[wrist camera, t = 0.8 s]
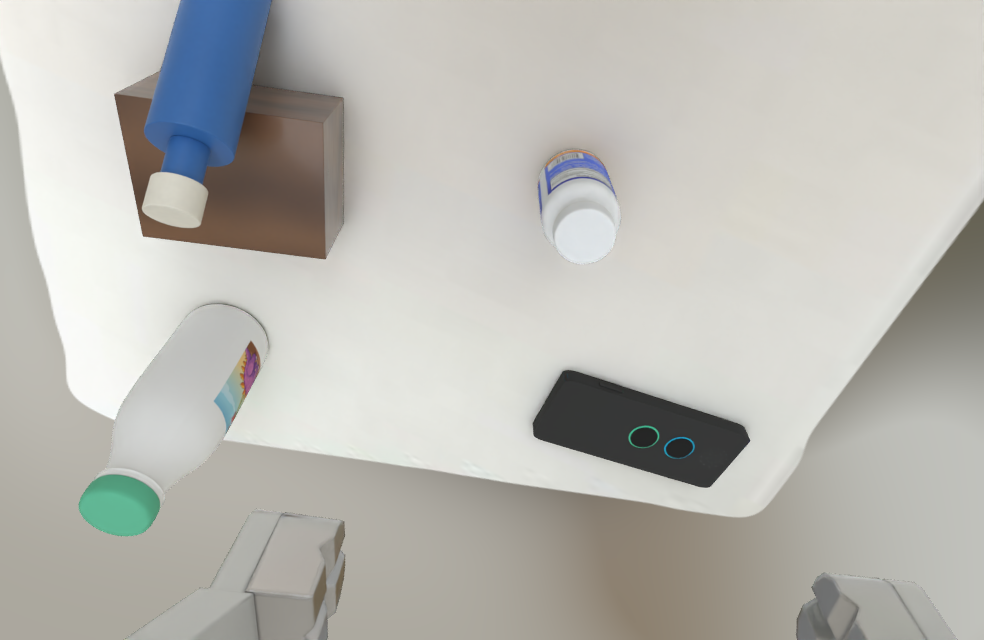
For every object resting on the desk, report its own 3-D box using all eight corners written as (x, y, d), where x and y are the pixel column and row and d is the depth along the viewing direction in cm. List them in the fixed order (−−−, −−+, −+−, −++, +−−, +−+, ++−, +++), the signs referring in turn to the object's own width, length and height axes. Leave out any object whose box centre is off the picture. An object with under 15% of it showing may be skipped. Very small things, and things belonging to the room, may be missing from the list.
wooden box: (158, 71, 44) (113, 93, 39) (343, 97, 45) (323, 122, 40) (179, 202, 49) (142, 236, 44) (343, 223, 50) (325, 259, 45)
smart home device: (707, 491, 65) (530, 439, 61) (703, 478, 66) (530, 426, 62) (754, 438, 60) (566, 378, 57) (748, 425, 62) (565, 366, 58)
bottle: (201, -65, 39) (59, -43, 27) (278, -53, 39) (172, -26, 27) (224, 144, 47) (123, 237, 34) (289, 153, 47) (211, 248, 35)
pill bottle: (589, 222, 50) (605, 285, 42) (526, 201, 49) (530, 261, 41) (620, 161, 47) (643, 215, 39) (553, 136, 46) (564, 187, 38)
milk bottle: (168, 335, 57) (29, 514, 40) (214, 285, 54) (83, 457, 37) (240, 382, 60) (138, 567, 43) (287, 337, 57) (197, 519, 40)
